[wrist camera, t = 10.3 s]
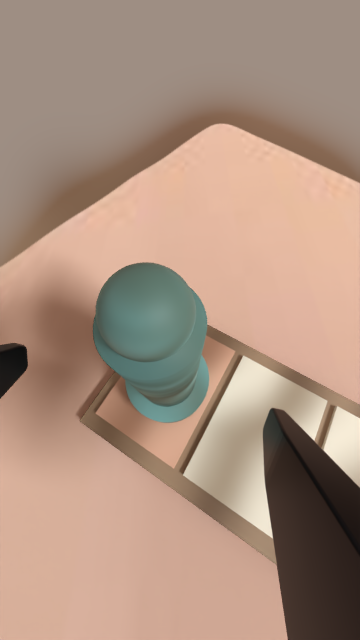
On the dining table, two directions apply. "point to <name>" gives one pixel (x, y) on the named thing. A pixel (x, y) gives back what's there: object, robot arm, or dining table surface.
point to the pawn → (154, 340)
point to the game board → (230, 434)
